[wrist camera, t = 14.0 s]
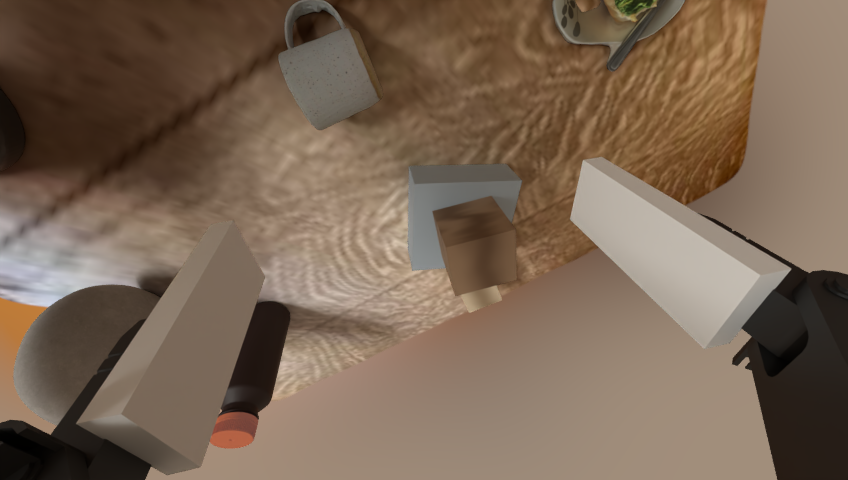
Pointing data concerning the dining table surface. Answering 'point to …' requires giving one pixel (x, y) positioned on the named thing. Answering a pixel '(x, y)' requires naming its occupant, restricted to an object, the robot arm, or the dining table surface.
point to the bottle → (252, 376)
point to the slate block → (451, 201)
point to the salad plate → (613, 23)
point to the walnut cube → (476, 245)
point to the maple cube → (481, 298)
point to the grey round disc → (74, 344)
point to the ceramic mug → (328, 70)
